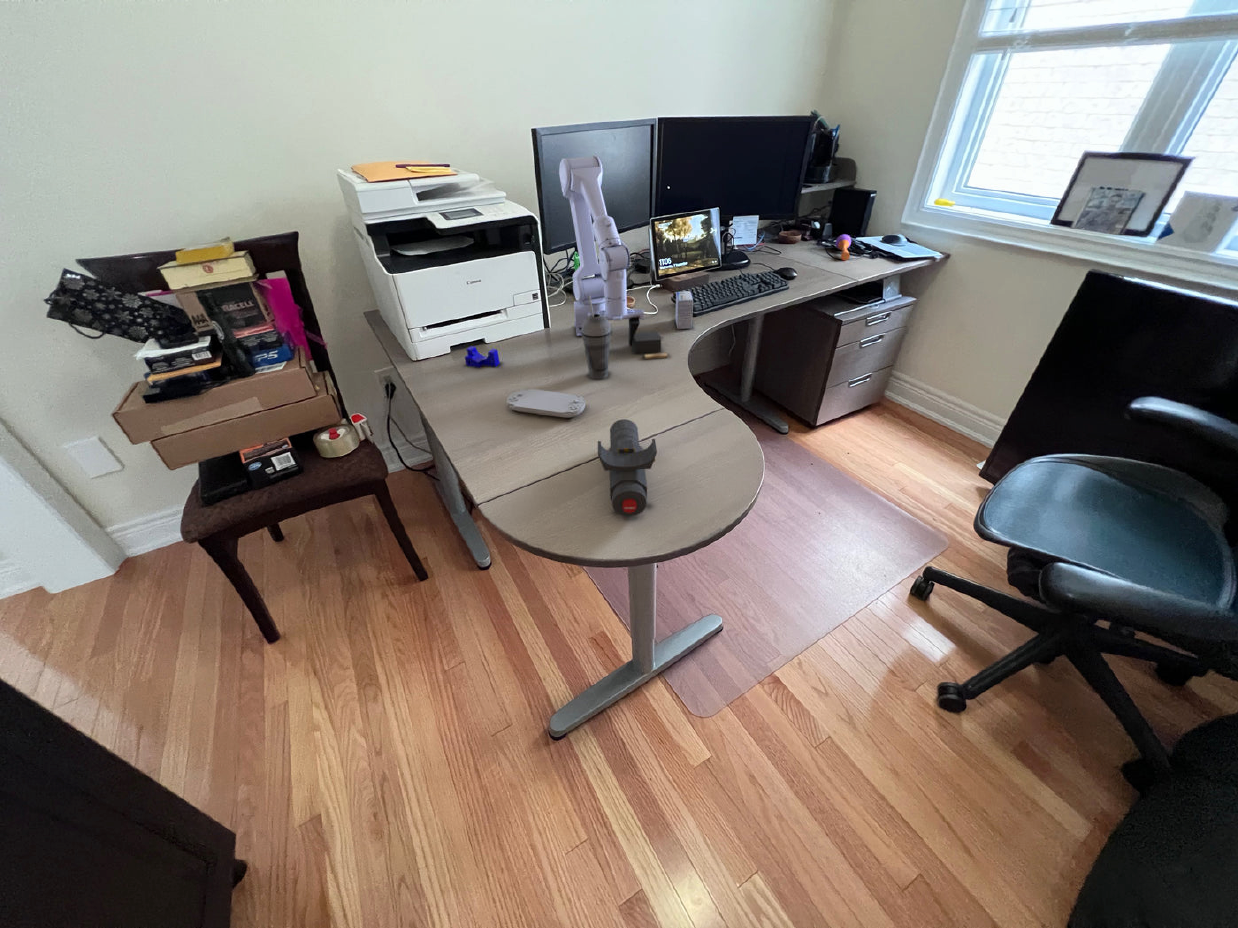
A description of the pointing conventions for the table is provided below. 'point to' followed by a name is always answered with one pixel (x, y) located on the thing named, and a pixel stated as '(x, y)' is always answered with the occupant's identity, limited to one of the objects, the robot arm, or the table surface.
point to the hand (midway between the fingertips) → (617, 345)
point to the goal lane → (655, 355)
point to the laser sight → (627, 467)
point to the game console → (546, 403)
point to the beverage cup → (596, 343)
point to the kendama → (843, 246)
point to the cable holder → (481, 358)
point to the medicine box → (684, 310)
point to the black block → (647, 342)
